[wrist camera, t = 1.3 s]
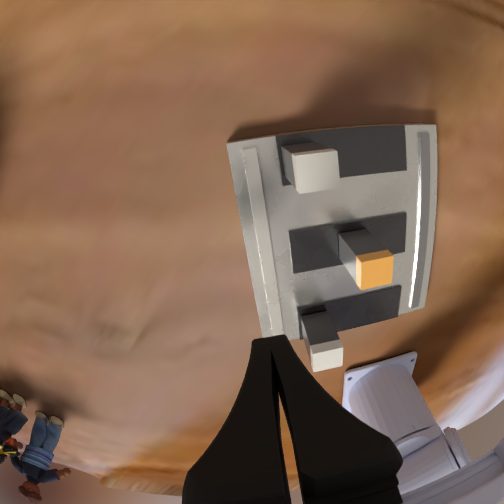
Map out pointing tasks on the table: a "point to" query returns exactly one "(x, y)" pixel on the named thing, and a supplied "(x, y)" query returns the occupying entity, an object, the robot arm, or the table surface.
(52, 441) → the doll family
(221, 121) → the table surface
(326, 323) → the block
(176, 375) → the table surface
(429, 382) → the table surface
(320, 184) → the block
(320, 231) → the plate
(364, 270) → the breaker
